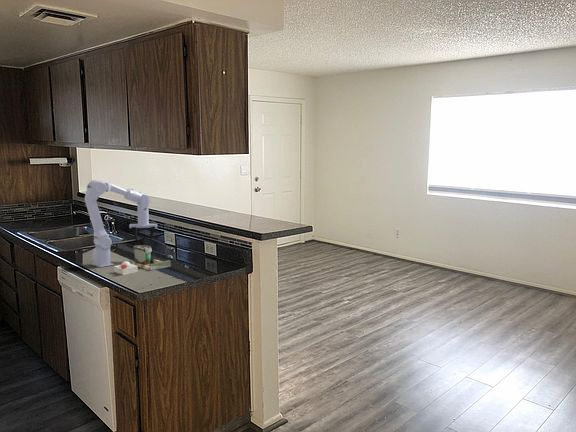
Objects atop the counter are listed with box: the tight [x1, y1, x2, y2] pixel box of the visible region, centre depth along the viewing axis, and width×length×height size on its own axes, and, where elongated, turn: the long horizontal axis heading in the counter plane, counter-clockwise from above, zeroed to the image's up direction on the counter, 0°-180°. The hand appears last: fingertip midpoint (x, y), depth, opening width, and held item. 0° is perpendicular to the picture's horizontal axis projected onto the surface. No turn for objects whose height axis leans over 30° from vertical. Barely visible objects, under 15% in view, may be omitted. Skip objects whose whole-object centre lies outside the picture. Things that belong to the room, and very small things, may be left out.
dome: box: [120, 260, 132, 268], centre depth 238 cm, size 5×5×5 cm
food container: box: [133, 244, 153, 266], centre depth 252 cm, size 12×6×10 cm, turn 48°
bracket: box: [134, 259, 172, 271], centre depth 251 cm, size 14×12×3 cm
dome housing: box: [113, 263, 139, 276], centre depth 238 cm, size 8×8×5 cm
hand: (143, 240), depth 264 cm, fingers open, 7 cm apart
